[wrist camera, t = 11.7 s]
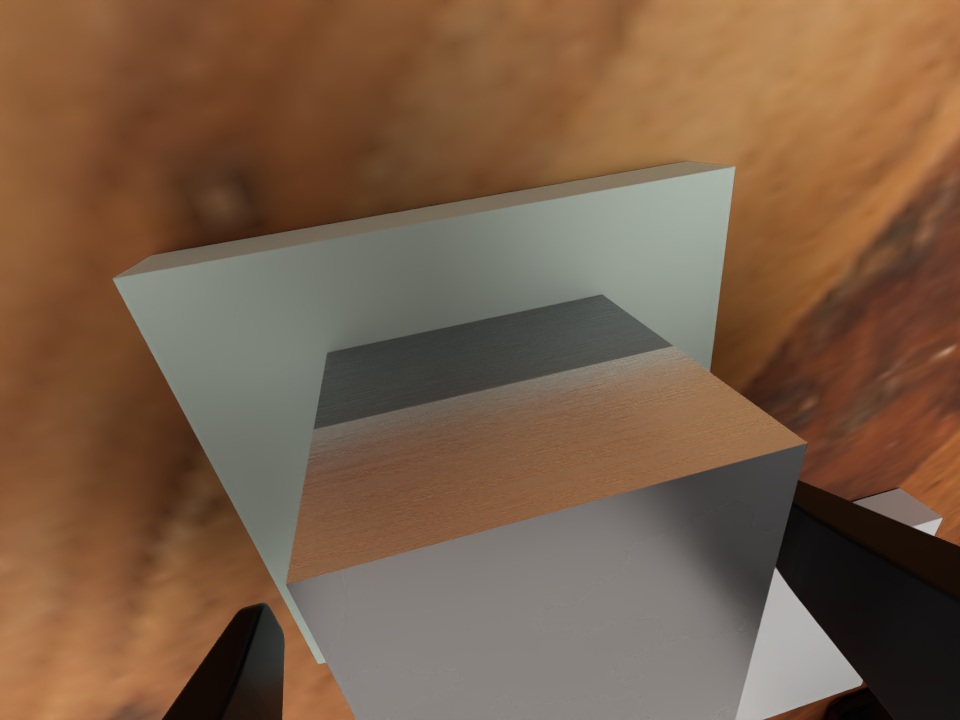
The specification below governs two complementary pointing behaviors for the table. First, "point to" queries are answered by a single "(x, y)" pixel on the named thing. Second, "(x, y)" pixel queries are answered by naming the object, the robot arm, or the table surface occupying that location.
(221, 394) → the stand
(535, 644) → the block
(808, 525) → the robot arm
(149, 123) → the table surface
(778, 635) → the stand
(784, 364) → the table surface
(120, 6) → the table surface
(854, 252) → the table surface
